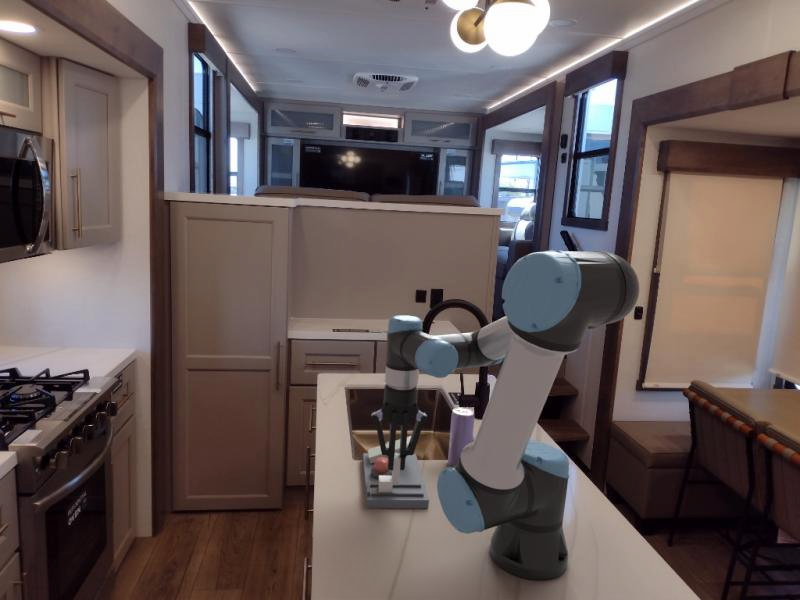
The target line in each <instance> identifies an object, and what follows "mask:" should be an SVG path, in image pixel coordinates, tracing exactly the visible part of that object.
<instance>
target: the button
mask: <svg viewBox="0 0 800 600" xmlns="http://www.w3.org/2000/svg"><path fill="white" fill-rule="evenodd" d="M374 470H375V471H376V472H378V473H387V472H388V471H389V469H388V459H387V458H384V457H379V458H376V459H375V466H374Z"/></svg>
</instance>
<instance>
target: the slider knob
mask: <svg viewBox="0 0 800 600" xmlns="http://www.w3.org/2000/svg"><path fill="white" fill-rule="evenodd" d="M392 487H393V480H392V476H385V475H379V482H378V490H379V493H392Z"/></svg>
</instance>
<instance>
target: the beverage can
mask: <svg viewBox="0 0 800 600" xmlns="http://www.w3.org/2000/svg"><path fill="white" fill-rule="evenodd" d="M450 420H451V421H450V430H449V443H448V445H449V446H448V458H447V463H448V464H449V467H455V466H456V465H457V463H458V460H459V458H460V455H461V452H462V450H463V448H464V447H465V446H466V445H467V444H469V443H471V442H473V441H474V440H473V438H474V436H473V435H474V427H475V411H474V410H472V409H470V408H468V407H454V408H453V409H452V412H451V417H450Z"/></svg>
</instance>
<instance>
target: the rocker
mask: <svg viewBox="0 0 800 600" xmlns="http://www.w3.org/2000/svg"><path fill="white" fill-rule="evenodd" d="M411 436H412V435H410V436H408V435H407V445H406V448H408V445H409V442H410V439H411ZM385 445H386V447H387V448H389V443H387V442H386V443H385ZM415 450H416V448H415ZM395 452H397V453H400V438H399V439H397V440H395ZM367 453H368V455H369V460H370V463H374V462H375V459H376V458H379V457H384V458H388V456H387V455H382V453H381V448H380V445H377V446H374V447H371V448H369V449H367Z"/></svg>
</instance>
